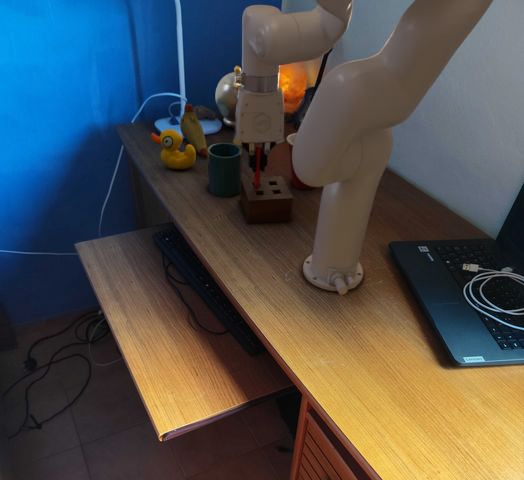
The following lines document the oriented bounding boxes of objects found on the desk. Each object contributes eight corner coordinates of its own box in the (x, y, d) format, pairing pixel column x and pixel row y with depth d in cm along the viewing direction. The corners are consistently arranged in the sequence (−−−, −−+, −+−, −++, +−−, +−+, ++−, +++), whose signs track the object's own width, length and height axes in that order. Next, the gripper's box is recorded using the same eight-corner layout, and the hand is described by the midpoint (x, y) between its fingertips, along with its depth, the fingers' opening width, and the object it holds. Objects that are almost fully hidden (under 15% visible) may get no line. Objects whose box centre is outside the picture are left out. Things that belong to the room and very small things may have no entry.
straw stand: (290, 220, 111) (293, 197, 107) (248, 223, 109) (248, 200, 105) (280, 198, 118) (282, 176, 114) (240, 201, 116) (240, 178, 112)
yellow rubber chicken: (215, 159, 131) (214, 122, 124) (196, 161, 129) (194, 124, 122) (192, 130, 143) (190, 95, 136) (175, 133, 142) (172, 97, 134)
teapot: (264, 131, 145) (267, 73, 133) (223, 135, 142) (222, 75, 130) (247, 109, 157) (248, 54, 145) (208, 112, 153) (206, 56, 141)
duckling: (152, 170, 125) (147, 132, 117) (157, 161, 128) (152, 124, 121) (194, 174, 125) (192, 136, 117) (198, 164, 128) (195, 127, 121)
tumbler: (244, 195, 118) (244, 156, 111) (211, 197, 117) (209, 158, 109) (238, 179, 124) (238, 142, 116) (206, 181, 122) (205, 143, 115)
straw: (259, 204, 113) (261, 147, 103) (254, 204, 113) (256, 147, 103) (258, 201, 114) (260, 144, 104) (253, 201, 114) (255, 144, 104)
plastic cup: (323, 176, 127) (330, 131, 118) (323, 195, 120) (330, 149, 111) (284, 172, 128) (288, 127, 119) (281, 191, 120) (285, 145, 111)
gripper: (225, 88, 90) (226, 179, 103) (302, 86, 93) (294, 175, 106) (219, 76, 95) (221, 164, 108) (292, 74, 98) (286, 160, 111)
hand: (257, 169), depth 107 cm, fingers closed on straw, 1 cm apart
